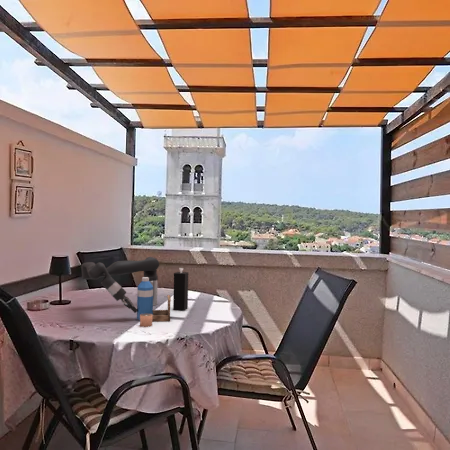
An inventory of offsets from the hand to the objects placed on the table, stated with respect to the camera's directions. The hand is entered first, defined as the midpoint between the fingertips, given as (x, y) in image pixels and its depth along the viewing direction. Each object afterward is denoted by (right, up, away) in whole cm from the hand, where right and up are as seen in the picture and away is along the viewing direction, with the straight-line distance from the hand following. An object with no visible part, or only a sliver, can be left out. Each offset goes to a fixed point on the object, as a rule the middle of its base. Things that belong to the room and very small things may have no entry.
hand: (136, 311), depth 257 cm
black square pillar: (+23, -5, +30) cm, 38 cm away
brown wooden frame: (+12, -5, +4) cm, 13 cm away
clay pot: (+8, -5, -12) cm, 16 cm away
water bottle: (+5, -5, +2) cm, 7 cm away
